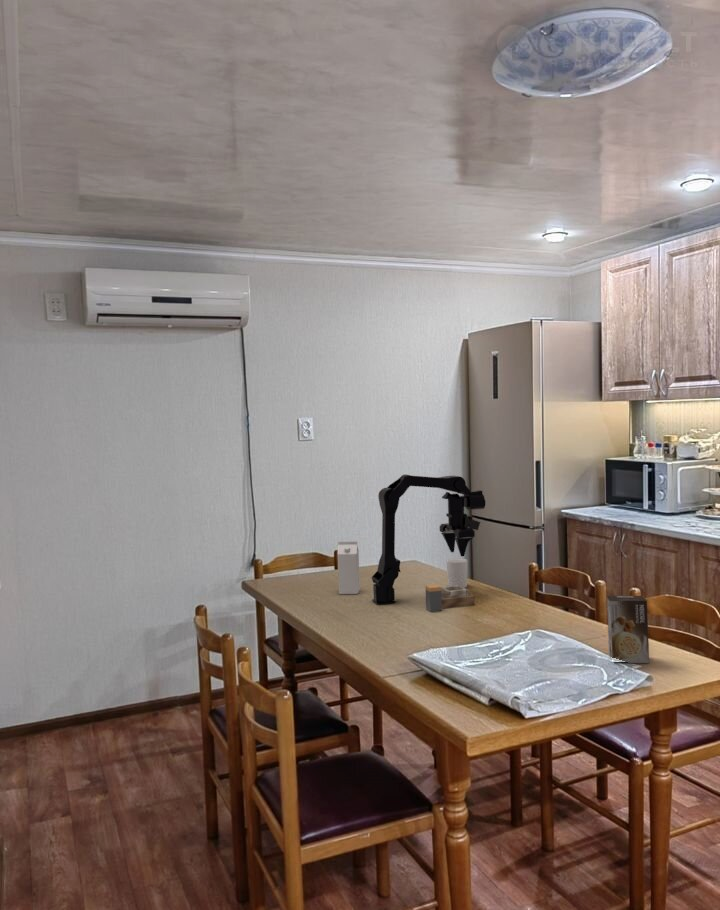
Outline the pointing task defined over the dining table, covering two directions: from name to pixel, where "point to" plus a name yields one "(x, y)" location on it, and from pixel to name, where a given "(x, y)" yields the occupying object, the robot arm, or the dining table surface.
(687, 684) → the dining table surface
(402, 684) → the dining table surface
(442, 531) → the robot arm
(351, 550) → the milk carton
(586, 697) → the dining table surface
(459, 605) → the walled box
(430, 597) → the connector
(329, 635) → the dining table surface
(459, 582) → the white cup
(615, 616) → the coffee box
